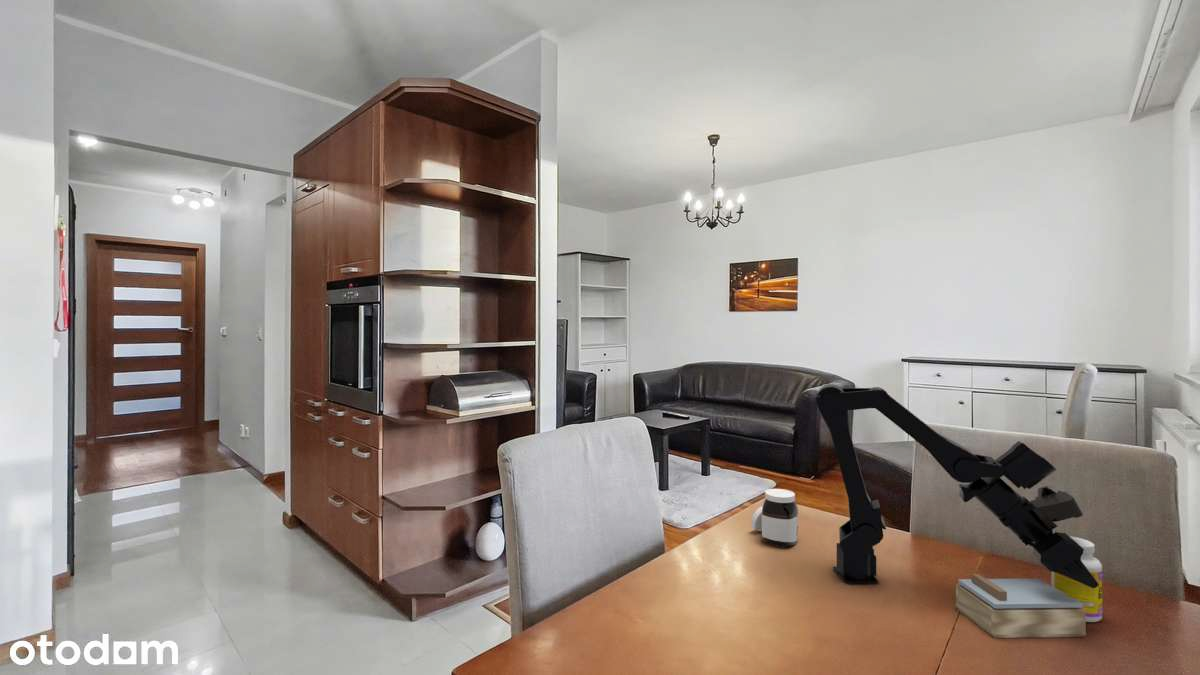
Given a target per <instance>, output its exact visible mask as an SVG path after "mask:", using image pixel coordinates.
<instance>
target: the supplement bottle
mask: <svg viewBox="0 0 1200 675" xmlns="http://www.w3.org/2000/svg"><path fill="white" fill-rule="evenodd" d="M1068 536H1069V535H1068ZM1069 537H1070V538H1072V539H1073V540H1074V541H1075V542H1076V543H1077V544H1079V545H1080V546H1081V547H1082V548H1083V549H1084V551H1083V555H1082V556H1081V561H1082V562H1083V564H1084V565H1085V567H1086V568H1087V569H1088V571H1089V572H1090V573H1091V574H1092V576H1093V577H1094V578H1095V580H1096V581H1097V582H1098V584H1099V586H1097V587H1096V588H1091V587H1089V586H1087V585H1085V584H1082V583H1080V582H1078V581H1076V580H1073V579H1071V578H1069V577H1066V576H1064V575H1061V574H1059V573H1056V572H1052V571H1051V586H1052V587H1054V588H1056V589H1058V590H1060V591H1061V592H1063V593H1065V594H1067V595H1068V596H1070V597H1072V598H1074V599H1076V600H1077V601H1079V602H1081V603H1083V609H1085V610H1086V623H1096V622H1100V621H1101V620H1102V619H1103V565H1102V563H1101V562H1100V560H1099V559H1098V558H1096V557H1094V553H1095V550H1096V549H1095V546H1096V545H1095V544H1094V543H1093V542H1091V541H1089V540H1087V539H1084V538H1081V537H1077V536H1069Z"/></svg>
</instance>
